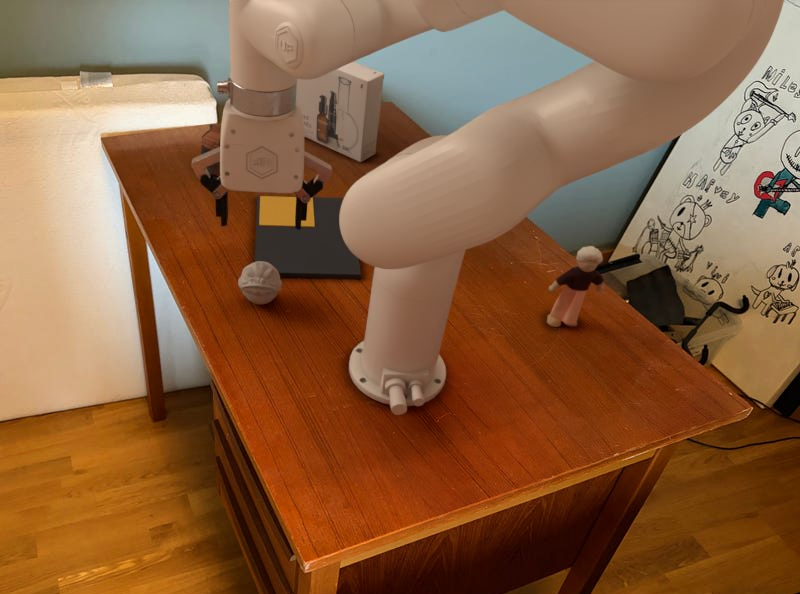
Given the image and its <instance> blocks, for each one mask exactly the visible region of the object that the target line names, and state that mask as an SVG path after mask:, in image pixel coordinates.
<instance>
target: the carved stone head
mask: <svg viewBox="0 0 800 594" xmlns="http://www.w3.org/2000/svg"><path fill="white" fill-rule="evenodd" d="M237 280H238V281H237V284H238V287H239V289H240V291H241V292H242V293H241V294H242V295H243V296H244V297H245V298H246V299H247V300H248V301H249V302H251V303H252V304H255V305H258V306H259V305H260V306H261V305H267V304H269V303H270V302H272V301H273V300H274V299H275V298H277V295H278V293H279V292H280V290H281V289H282V287H283V282H282V280H281V277H280V275H279V273H278V270H277V269H276V268H275V267H274V266H272V265H271V264H270V263H267V262H262V261H257V262H255V261H254V262H253V261H252V262H251V263H250V264H247V265H246V266H245V267H244V268H243V269H242V271H241V275H240V277H239V278H238V279H237Z"/></svg>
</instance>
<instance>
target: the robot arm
mask: <svg viewBox="0 0 800 594" xmlns="http://www.w3.org/2000/svg"><path fill="white" fill-rule="evenodd" d="M784 2H785V0H228V14H229V15H228V19H229V76H230V77H228V78H227V80H224V81H217V94H218V95H224V96H227V100H226V101H225V104H224V107H223V110H222V111H223V112H222V117H221V124H220V127H221V138H220V147H218V148H216V149H214V150H211V151H209V152H207V153H204V154H202V155H201V154H199V155H200V156H198V155H197V156H195V157H193V158H192V160H191V164H190V166H191V169H192V171H193V172H194V174H195V176H196V177H197V178H198V180H199V182H200V184H201V185H202V186H203V187H204V188H205V189H206V190H207V191H208V192H209V193H211V195H212V198H214V200H215V202H214V203H215V204H214V205H215V217H216V218H220V227H226V226H227V225H228V218H229V193H228V192H229V190H230V191H234V192H244V193H245V192H246V193H247V192H248V193H249V192H250V193H268V194H270V193H271V194H294V195H295V197H296V211H295V228H297V230H301V221H306V219H307V204H308V202H310V199H311V198H312V197H315V196H316V195H317V194H318V193H320V192H321V191H322V190H323V189H324V186H325V184H326V183H327V182H328V181H329V179H330V177H331V176H332V175H333V167H332V165H331V164H330V163H328V162H326V161H325V160H322V159H321V158H318V157H317V156H315V155H313V154H311V153H310V152H308V151H305V137H304V124H303V115H302V110H301V106H300V105H299V104H298V103H297V102H296V91H297V78H298V79H303V80H310V79H315V78H318V77H321V76H323V75H325V74H328V73H330V72H332V71H334V70H336V69H338V68H341V67H342V66H344V65H347V64H349V63H351V62H356V61H358V60H360V59H363V58H365V57H367V56H369V55H372V54H374V53H376V52H378V51H381V50H383V49H386V48H388V47H390V46H393V45H396V44H398V43H400V42H403V41H406V40H408V39H410V38H412V37H413V38H414V37H415V36H418V35H420V34H423V33H426V32H429V31H432V30H436V31H438V32H441V33H446V32H451V31H454V30H457V29H459V28H462V27H465V26H467V25H469V24H472V23H475V22H477V21H479V20H483V19H485V18H488V17H490V16H493V15H496V14H498V13H500V12H503V11H504V12H506V13H508V14H509V15H511V16H512V17H514V18H516V19H517V20H519V21H521V22H522V23H524V24H525V25H528V26H529V27H531V28H533V29H535V30H537V31H538V32H540V33H542V34H544V35H545V36H548V37H550V38H551V39H553V40H556V42H559V43H561V44H562V45H565V46H566V47H568V48H570V49H573V50H574V51H576V52H578V53H579V54H580V55H583V56H584V57H587V58H588V59H591V60H592V62H590V63H587V64H586V65H584V66H582V67H580V68H578V69H576V70H575V71H574V72H572V73H569V74H568V75H566V76H563V77H561V78H559V79H557V80H555V81H553V82H550V83H548V84H547V85H544V86H542V87H539V88H538V89H536V90H534V91H531V92H529V93H527V94H524V95H522V96H519V97H517V98H514V99H512V100H509V101H505V102H503V103H500V104H498V105H495V106H493V107H492V108H489V109H488V110H486V111H485V112H483V113H481V114H480V115H478V116H476V117H475V118H474V119H472V120H470V121H469V122H467V123H466V124H464V125H463V126H461V127H459V128H457V129H456V130H455V131H453V132H452V133H450V134H448V135H447V134H446V135H445V134H444V135H443V134H441V135H439V134H438V135H433V136H430V137H426V138H423V139H421V140H419V141H416V142H415V143H413V144H411V145H409V146H408V147H406V148H404V149H403V150H401V151H400V152H398V153H397V154H395V155H393V156H392V157H390V158H388V160H387V161H385V162H383V163H384V164H383V163H382V164H380V165H381V166H380V165H378V166H379V167H378V166H376V167H377V168H376V167H375V168H376V169H375V168H373V169H374V170H373V169H372V170H373V171H371V170H370V171H371V172H369V171H368V172H369V173H368V172H367V173H368V174H366V173H365V174H366V175H365V176H364V175H363V176H362V177H360V178H358V179H357V180H356V181H355V182H354V183H353V184H352V185H351V186H350V187H349V189H348V190H347V191H346V193H345V195H344V197H343V198H344V199H343V201H342V205H341V209H340V214H339V225H340V231H341V235H342V238H343V240H344V242H345V244H346V245H347V247H348V248H349V250H350V251H351V252H352V253H353V254H354V255H355V256H356V257H357V258H359V261H361V262H363V263H364V264H366V265H369V266H371V267H374V269H373V275H372V283H371V290H370V297H369V304H368V310H367V311H368V312H367V319H366V325H365V333H364V339H363V340H362V341H360V342H359V343H358V344H356V346H355V347H354V348H353V349H352V352H351V353H350V356H349V361H348V373H349V377H350V378H351V380H352V383H353V384H354V385H355V386H356V387H357V389H358V390H359V391H360V392H362V393H363V394H364V395H365V396H367V397H369V398H370V399H372V400H374V401H377V402H379V403H382V404H385V405H389V407H390V411H391V414H393V415H395V416H400V415H404V414H405V413H406V412H407V411H408V407H413V406H415V407H421V406H423V405H424V404H425V403H427V402H429V401H431V400H433V399H434V398H435V397H437V396H438V394H440V392H441V391H442V389H443V388H444V385H445V382H446V378H447V367H446V364H445V362H444V359H443V357H442V356H441V355H440V351H441V347H442V343H443V338H444V335H445V331H446V326H447V322H448V318H449V315H450V310H451V306H452V302H453V298H454V295H455V289H456V287H457V284H458V280H459V276H460V273H461V267H462V264H463V261H464V257H465V253H466V251H467V250H469V249H472V248H475V247H478V246H481V245H484V244H486V243H489V242H491V241H493V240H495V239H497V238H499V237H501V236H503V235H504V234H506V233H508V232H509V231H511V230H512V229H513V228H515V227H516V226H518V224H520V223H521V222H523V220H524V219H526V218H527V217H528V216H529V215H530V214H531V213H532V212H534V210H536V209H537V208H538V207H539V206H540V205H541V204H542V203H544V201H546V200H547V199H548V198H549V197H550V196H552V195H553V194H554V193H555V192H556V191H558V190H559V189H561V188H563V187H565V186H567V185H570V184H572V183H574V182H577V181H579V180H582V179H584V178H586V177H590V176H592V175H594V174H598V173H601V172H602V171H605V170H607V169H610V168H613V167H614V166H617V165H619V164H621V163H625V162H626V161H629V160H631V159H635V158H636V157H639V156H641V155H643V154H646V153H648V152H651V151H653V150H655V149H657V148H659V147H661V146H663V145H665V144H668V143H669V142H672V141H673V140H675V139H676V138H678V137H679V136H681V135H683V134H685V133H686V132H687V131H689V130H691V129H692V128H694V127H695V126H697V125H698V124H699V123H700V122H702V121H703V120H704V119H706V118H707V117H708V116H709V115H711V114H712V113H713V112H714V111H715V110H716V109H718V108H719V107H720V106H721V105H722V104H723V103H724V102H725V101H726V100H727V99H728V98H729V97H730V96H731V95H732V94H733V93H734V92H735V91H736V90H737V88H739V86H740V85H741V84H742V83H743V82H744V81H745V79H746V78H747V77H748V76H749V75H750V73H751V72H752V70H753V69H754V68H755V66H756V65H757V63H758V62H759V60H760V59H761V57H762V55H764V52H765V50H766V49H767V47H768V45H769V42H770V41H771V38H772V37H773V34H774V31H775V29H776V26H777V24H778V21H779V19H780V16H781V13H782V9H783V6H784ZM218 162H220V176H217V177H216V176H215V175H213V174H211V173H210V172H209V171H208V170H207V168H206V167H208V166H211V165H213V164H215V163H218ZM305 168H308V169H309V170H311V171H313V172H315V173H317V174H316V175H315V176H314V177H313V178H312V179H310V180H309V181H308V182H307V181H306V180H305V179H304V174H305Z"/></svg>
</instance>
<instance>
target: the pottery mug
mask: <svg viewBox="0 0 800 594" xmlns="http://www.w3.org/2000/svg"><path fill="white" fill-rule="evenodd" d="M220 138H221V125H220V126H219V125H217V124H213V123H211V124H209V130H207V131H206V132H204V134H203V135H201V144H202V145H201V147H200V154H198V155H197V156H200V155H202V154H204V153H207V152H209V151H211V150H214V149H216V148H218V147H220ZM206 168H207V170H208V171H209V172H210V173H211V174H212V175H213V176H215V177H216V176H217V177H219V176H220V162H218V163H215V164H213V165H211V166H208V167H206Z"/></svg>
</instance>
